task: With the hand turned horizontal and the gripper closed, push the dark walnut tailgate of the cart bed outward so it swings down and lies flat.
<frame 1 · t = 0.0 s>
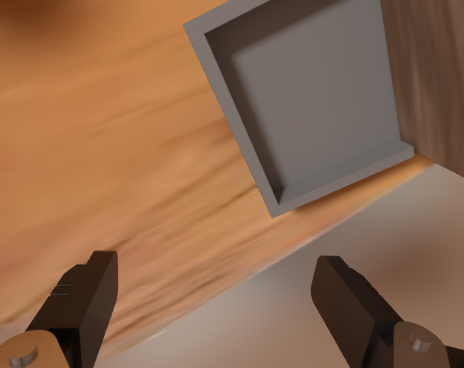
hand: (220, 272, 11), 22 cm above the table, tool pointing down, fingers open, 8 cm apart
cart bed: (303, 85, 30), on the table
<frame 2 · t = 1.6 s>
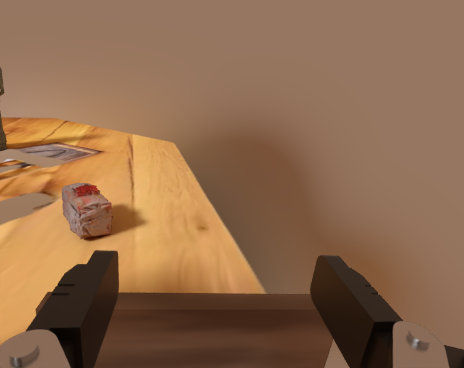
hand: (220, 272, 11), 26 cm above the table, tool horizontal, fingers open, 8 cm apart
food item: (86, 228, 62), on the table
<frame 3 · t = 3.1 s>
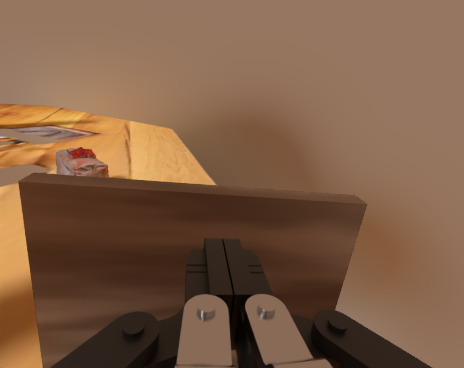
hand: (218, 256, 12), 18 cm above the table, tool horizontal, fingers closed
tailgate: (198, 293, 20), point 11 cm above the table, hinge at 0.0°
food item: (81, 194, 60), on the table
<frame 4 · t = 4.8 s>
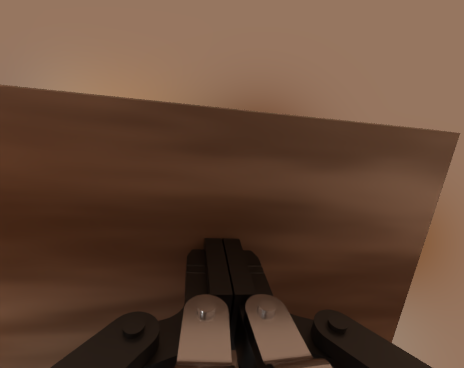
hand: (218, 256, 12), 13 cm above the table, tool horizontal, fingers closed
tailgate: (213, 277, 14), point 11 cm above the table, hinge at 2.2°, touching gripper
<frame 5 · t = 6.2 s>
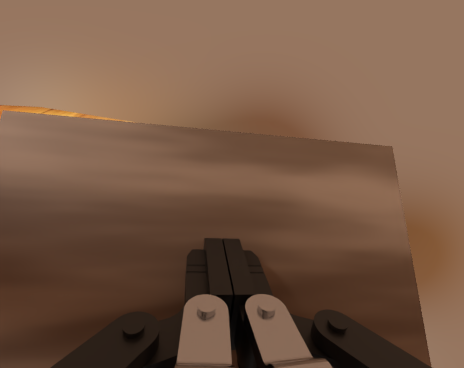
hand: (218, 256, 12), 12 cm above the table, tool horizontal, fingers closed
tailgate: (214, 295, 13), point 10 cm above the table, hinge at 35.2°, touching gripper
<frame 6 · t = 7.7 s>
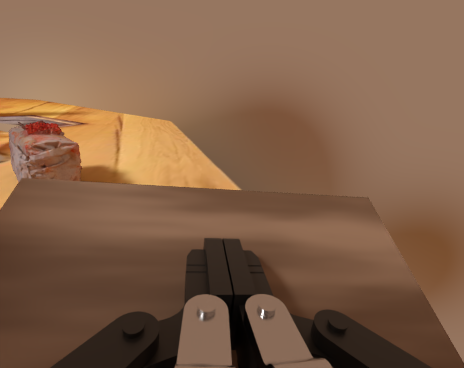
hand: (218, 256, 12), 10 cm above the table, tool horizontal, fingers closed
tailgate: (215, 347, 11), point 7 cm above the table, hinge at 64.7°
food item: (45, 187, 43), on the table
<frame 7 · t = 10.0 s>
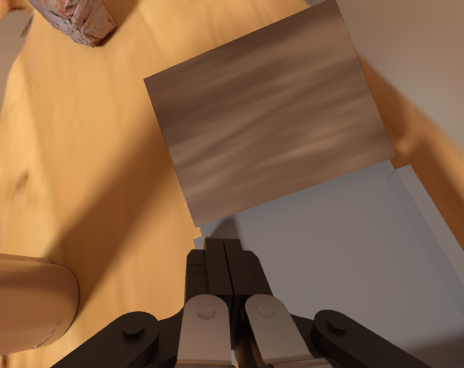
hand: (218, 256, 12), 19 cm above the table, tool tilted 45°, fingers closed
tailgate: (262, 118, 28), point 6 cm above the table, hinge at 68.9°
cart bed: (324, 284, 28), on the table
food item: (88, 31, 51), on the table
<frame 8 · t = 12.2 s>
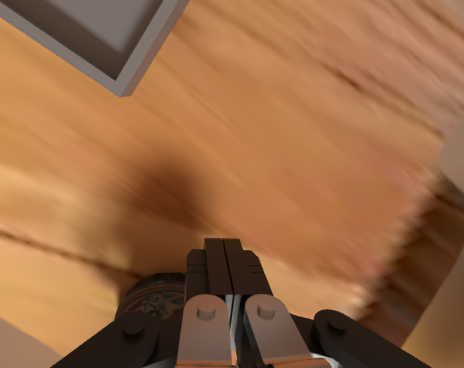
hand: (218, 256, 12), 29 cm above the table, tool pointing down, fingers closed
beer stein: (163, 314, 49), on the table
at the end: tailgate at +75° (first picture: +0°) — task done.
